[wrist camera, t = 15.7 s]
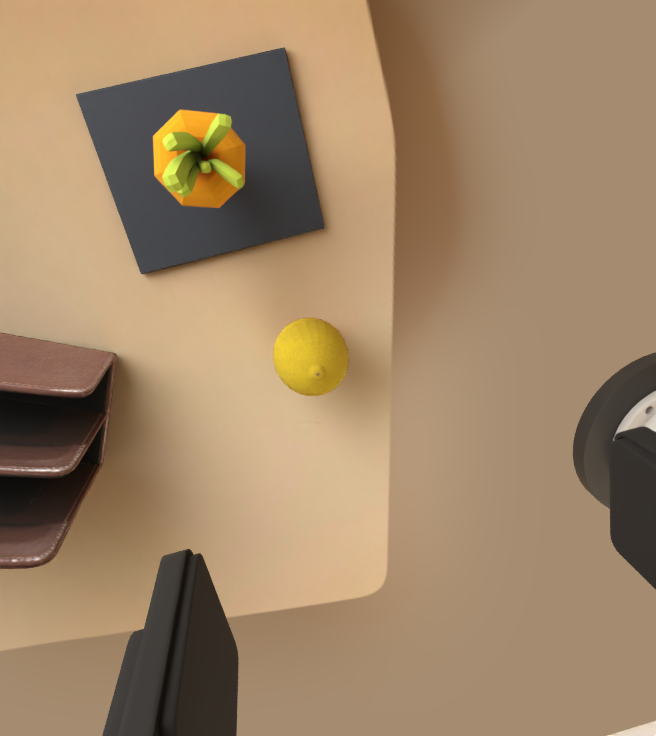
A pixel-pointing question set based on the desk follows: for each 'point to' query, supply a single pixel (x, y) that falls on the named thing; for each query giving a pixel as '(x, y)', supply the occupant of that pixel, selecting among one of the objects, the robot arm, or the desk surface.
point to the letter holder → (48, 441)
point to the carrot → (199, 158)
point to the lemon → (310, 356)
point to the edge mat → (262, 159)
